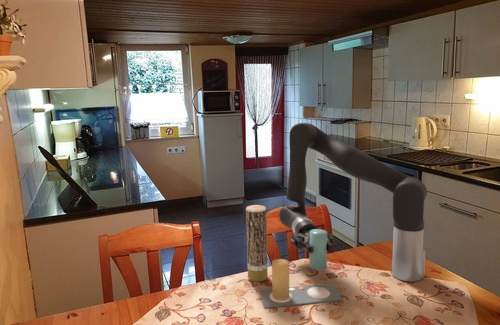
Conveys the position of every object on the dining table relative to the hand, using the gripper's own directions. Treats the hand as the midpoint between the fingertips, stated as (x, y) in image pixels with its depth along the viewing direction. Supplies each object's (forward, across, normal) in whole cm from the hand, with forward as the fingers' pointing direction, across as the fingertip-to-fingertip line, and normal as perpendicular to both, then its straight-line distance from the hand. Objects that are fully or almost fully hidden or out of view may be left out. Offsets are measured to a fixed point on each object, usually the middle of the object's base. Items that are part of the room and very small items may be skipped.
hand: (321, 249), depth 108 cm
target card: (-2, -6, +16) cm, 17 cm away
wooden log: (-16, -17, +16) cm, 28 cm away
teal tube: (-3, 0, +6) cm, 7 cm away
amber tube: (-2, -12, +16) cm, 20 cm away
